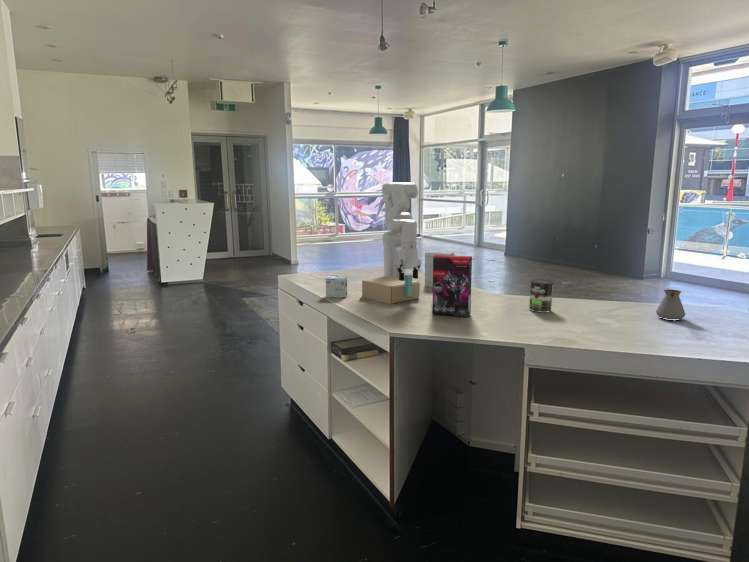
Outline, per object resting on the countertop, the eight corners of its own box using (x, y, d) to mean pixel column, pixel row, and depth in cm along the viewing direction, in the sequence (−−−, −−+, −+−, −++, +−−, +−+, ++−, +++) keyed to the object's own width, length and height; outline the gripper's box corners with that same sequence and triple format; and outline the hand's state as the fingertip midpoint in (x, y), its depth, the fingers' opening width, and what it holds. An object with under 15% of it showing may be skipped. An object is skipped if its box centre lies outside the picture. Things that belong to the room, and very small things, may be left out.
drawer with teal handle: (390, 290, 284) (391, 267, 282) (422, 297, 266) (423, 272, 264) (364, 295, 272) (364, 271, 269) (396, 303, 254) (396, 277, 251)
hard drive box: (454, 287, 298) (455, 253, 295) (448, 289, 292) (449, 254, 288) (429, 284, 307) (430, 251, 303) (424, 286, 300) (424, 252, 296)
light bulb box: (347, 295, 275) (347, 275, 273) (345, 298, 269) (345, 278, 267) (328, 295, 276) (327, 275, 274) (325, 298, 270) (325, 277, 268)
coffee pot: (656, 314, 238) (659, 282, 235) (684, 317, 232) (688, 285, 229) (652, 325, 220) (656, 290, 217) (684, 329, 214) (688, 294, 211)
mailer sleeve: (389, 291, 286) (389, 275, 284) (418, 298, 270) (418, 281, 268) (362, 296, 273) (362, 280, 271) (390, 304, 256) (390, 286, 255)
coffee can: (545, 314, 238) (547, 284, 235) (525, 310, 244) (526, 281, 242) (555, 310, 245) (557, 281, 242) (535, 306, 252) (536, 278, 249)
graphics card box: (431, 314, 237) (432, 256, 231) (434, 311, 243) (436, 254, 238) (468, 318, 231) (470, 257, 226) (470, 314, 237) (473, 255, 232)
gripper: (415, 243, 264) (415, 276, 267) (391, 246, 253) (390, 280, 256) (426, 244, 259) (425, 278, 262) (401, 247, 247) (401, 282, 250)
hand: (408, 279), depth 259 cm, fingers open, 9 cm apart
